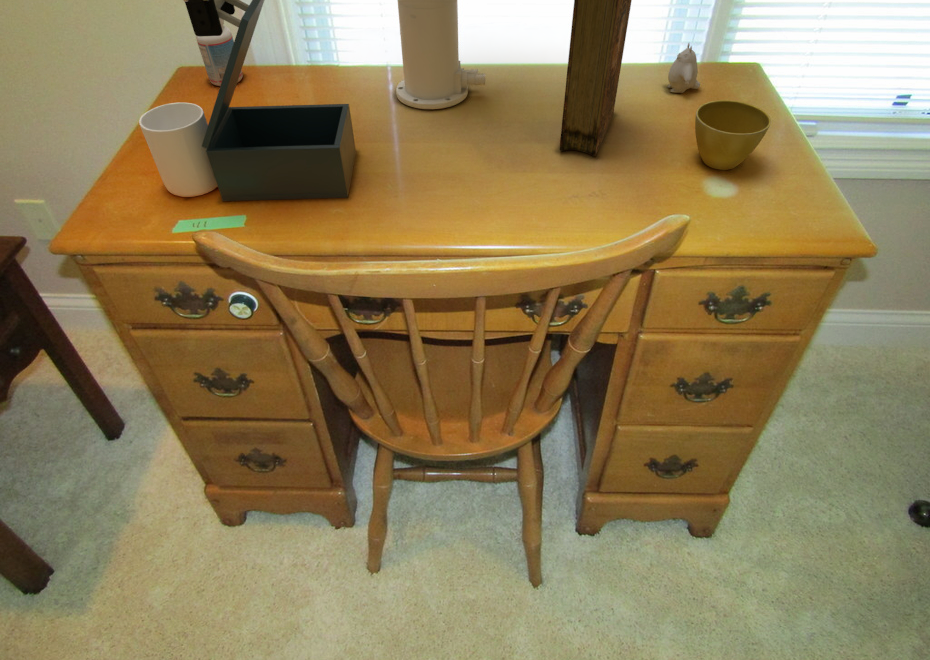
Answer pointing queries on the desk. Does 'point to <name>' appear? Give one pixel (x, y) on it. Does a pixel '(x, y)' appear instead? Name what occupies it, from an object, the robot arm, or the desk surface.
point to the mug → (179, 147)
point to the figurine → (684, 72)
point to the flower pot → (729, 132)
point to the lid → (232, 60)
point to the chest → (283, 152)
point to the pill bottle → (216, 54)
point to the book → (593, 72)
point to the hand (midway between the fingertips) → (215, 22)
